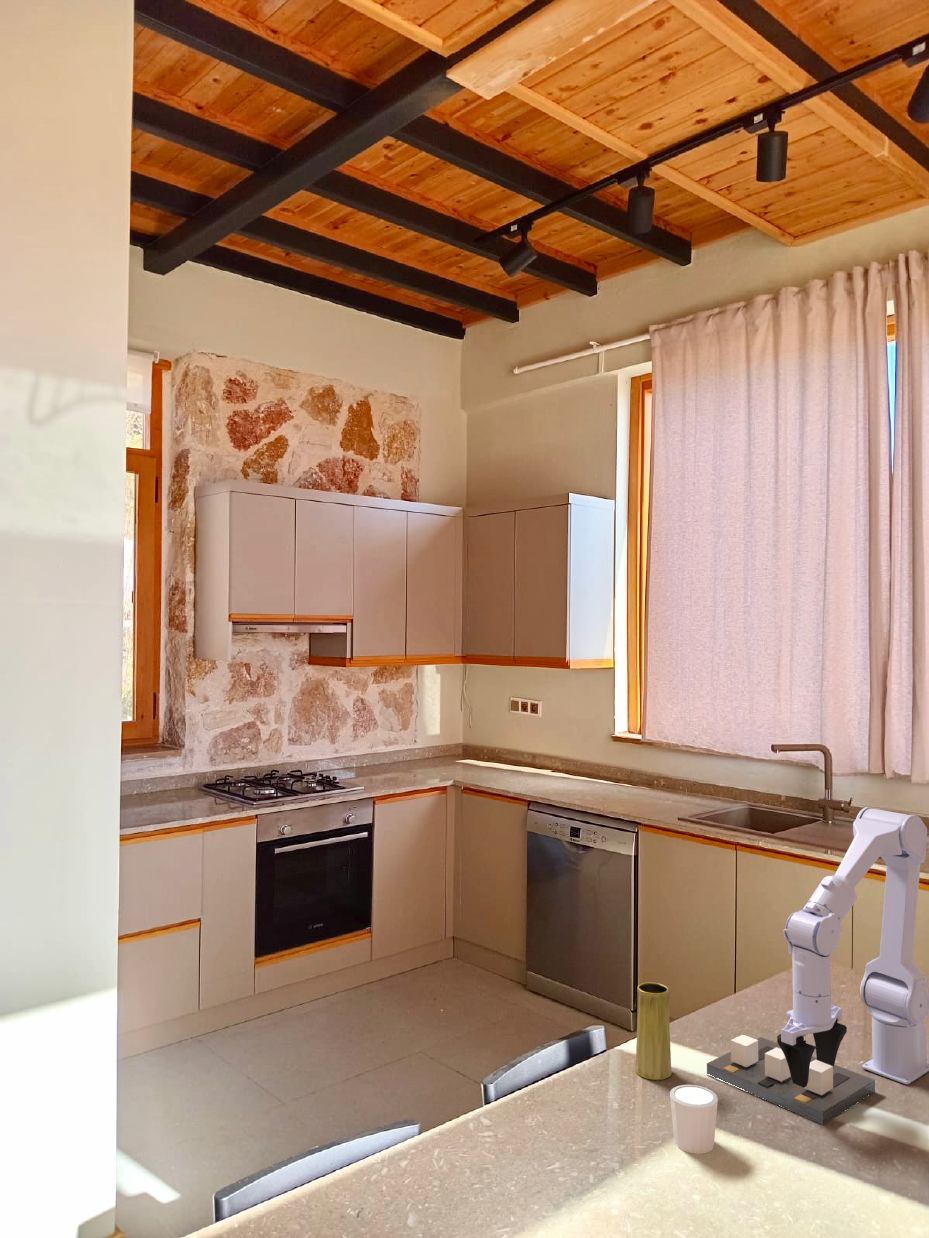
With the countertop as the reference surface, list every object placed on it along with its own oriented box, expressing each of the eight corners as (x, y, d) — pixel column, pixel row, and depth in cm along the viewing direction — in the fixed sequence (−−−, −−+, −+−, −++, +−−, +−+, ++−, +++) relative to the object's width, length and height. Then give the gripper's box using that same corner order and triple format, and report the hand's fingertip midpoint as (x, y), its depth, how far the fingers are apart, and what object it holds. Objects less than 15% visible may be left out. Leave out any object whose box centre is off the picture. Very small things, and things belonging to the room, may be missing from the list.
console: (760, 1048, 169) (760, 1035, 169) (874, 1091, 153) (874, 1078, 153) (706, 1075, 159) (706, 1061, 159) (822, 1125, 143) (822, 1110, 143)
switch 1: (742, 1054, 161) (742, 1034, 162) (758, 1060, 159) (758, 1040, 159) (730, 1060, 159) (730, 1039, 159) (746, 1067, 157) (746, 1045, 157)
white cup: (719, 1135, 140) (719, 1087, 140) (716, 1159, 134) (716, 1109, 134) (672, 1127, 142) (672, 1080, 142) (667, 1150, 136) (666, 1102, 136)
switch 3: (815, 1081, 152) (815, 1059, 152) (833, 1088, 150) (832, 1065, 150) (803, 1088, 150) (803, 1065, 150) (821, 1095, 147) (821, 1072, 147)
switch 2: (776, 1068, 156) (776, 1047, 156) (793, 1074, 154) (793, 1053, 154) (764, 1074, 154) (764, 1053, 154) (781, 1081, 152) (781, 1059, 152)
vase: (672, 1082, 157) (671, 995, 157) (634, 1078, 158) (634, 992, 158) (671, 1065, 163) (671, 982, 163) (635, 1062, 164) (635, 979, 164)
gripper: (812, 972, 156) (813, 1054, 156) (763, 994, 147) (764, 1081, 147) (853, 984, 151) (854, 1069, 151) (804, 1008, 142) (805, 1099, 142)
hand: (812, 1076), depth 149 cm, fingers open, 7 cm apart
